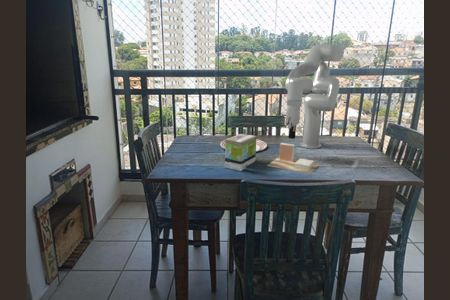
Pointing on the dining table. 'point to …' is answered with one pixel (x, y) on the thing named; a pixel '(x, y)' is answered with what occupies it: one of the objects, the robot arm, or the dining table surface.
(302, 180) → the dining table surface
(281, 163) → the striped wooden board
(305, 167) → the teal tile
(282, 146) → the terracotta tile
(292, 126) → the robot arm
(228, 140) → the tea box
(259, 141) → the dinner plate
